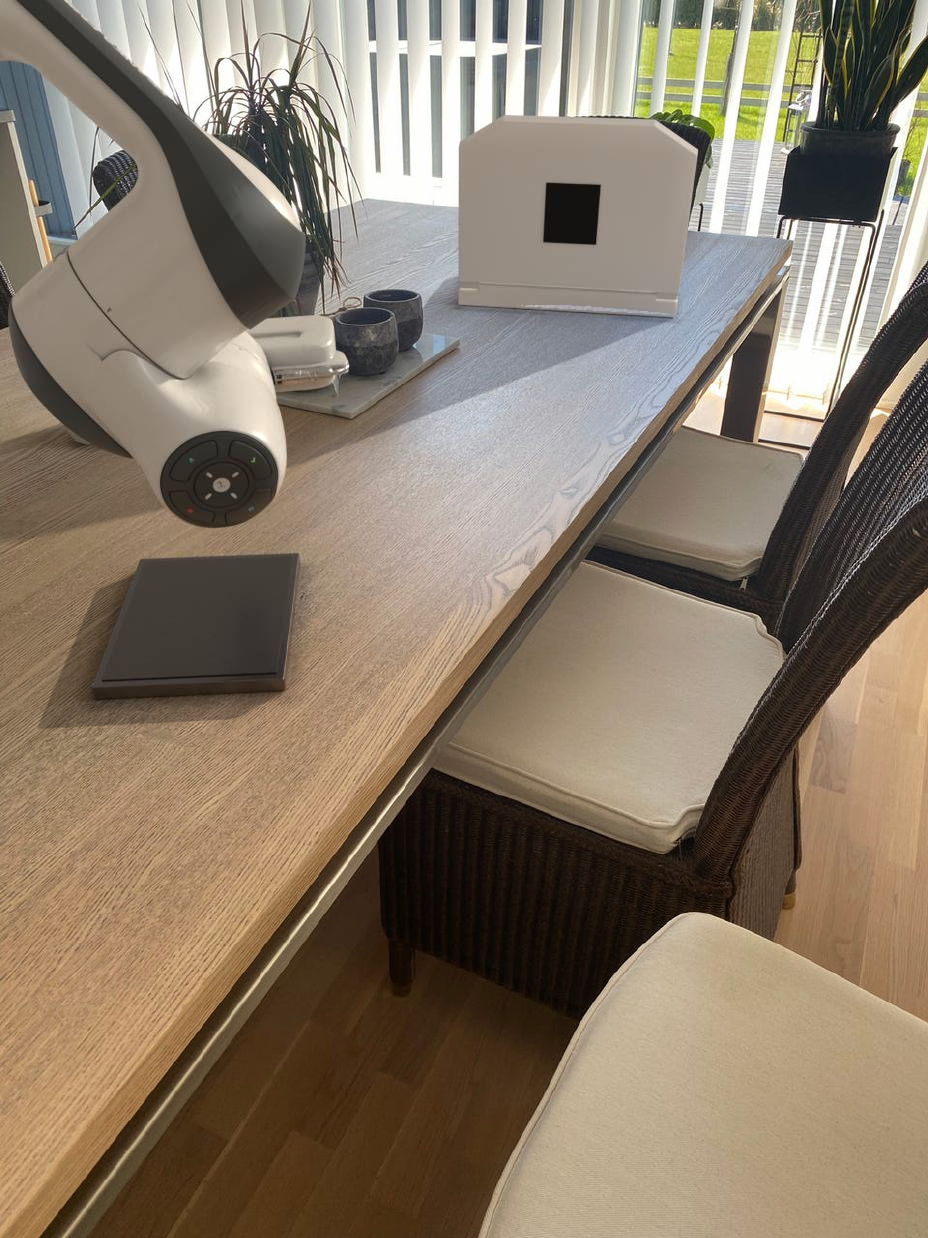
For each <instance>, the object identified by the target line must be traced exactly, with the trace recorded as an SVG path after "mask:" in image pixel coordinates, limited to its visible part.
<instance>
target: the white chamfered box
mask: <svg viewBox="0 0 928 1238" xmlns="http://www.w3.org/2000/svg"><path fill="white" fill-rule="evenodd" d="M698 155H699V149H698V148H696V147H695V146H694V145H692V144H691V143H690V142H689V141H686V140H685V139H684V138H682V137H680V136H679V135H678V134H676V133H675V132H673V131H672V130H671V129H669V128H668V127H666V126H665V125H663V124H662V123H661V122H660V121H658V120H657V119H654V118H653V119H651V118H650V119H648V118H619V117H618V118H616V117H587V116H586V117H584V116H552V115H551V116H549V115H520V114H517V115H516V114H504V115H502V116H500V117H498V118H497V119H495V120H493V121H491V122H490V123H489V124H486V125H485V126H483V127H482V128H480V129H479V130H477V131H475V132H473V133H471V134H470V135H468V136H466V137H465V138H463V139H462V140H460V141H459V145H458V282H459V288H458V305H459V306H468V307H469V306H471V307H487V308H504V309H506V308H507V309H522V310H539V311H554V312H556V311H557V312H570V313H589V314H590V313H591V314H607V315H623V316H637V317H638V316H640V317H656V318H657V317H658V318H676V316H677V311H678V294H680V290H681V284H682V283H681V282H682V275H683V268H684V259H685V252H686V244H687V237H688V229H689V222H690V216H691V207H692V200H693V192H694V187H695V186H694V184H695V177H696V170H697V162H698ZM517 305H518V306H517ZM521 305H523V306H521ZM526 305H573V306H591V307H603V308H615V309H628V310H638V311H648V312H660V313H669V314H676V315H661V314H644V313H627V312H610V311H593V310H576V309H559V308H542V307H525V306H526Z"/></svg>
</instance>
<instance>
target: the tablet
mask: <svg viewBox="0 0 928 1238" xmlns="http://www.w3.org/2000/svg"><path fill="white" fill-rule="evenodd" d="M300 557H301V556H300V553H299V552H289V553H288V552H287V553H264V554H262V553H261V554H260V553H259V554H236V555H235V554H234V555H210V556H207V555H206V556H181V557H179V556H177V557H154V558H153V557H152V558H140V559H139V562H138V564H137V566H136V570H135V572H134V574H133V577H132V580H131V582H130V585H129V587H128V590H127V593H126V595H125V598H124V601H123V604H122V606H121V609H120V611H119V614H118V617H117V619H116V622H115V625H114V627H113V630H112V632H111V634H110V638H109V641H108V643H107V646H106V649H105V650H104V654H103V657H102V659H101V661H100V664H99V667H98V669H97V672H96V675H95V677H94V680H93V683H92V685H91V691H92V693H93V694H92V695H93V697H94V699H95V700H111V699H133V698H135V699H137V698H154V697H155V698H156V697H157V698H158V697H177V696H178V697H179V696H197V695H219V694H222V695H223V694H239V693H240V694H241V693H263V692H284V691H287V690H286V689H287V681H288V674H289V673H288V672H289V664H290V656H291V646H292V639H293V629H294V623H295V621H294V620H295V612H296V603H297V595H298V586H299V578H300V570H301V558H300Z"/></svg>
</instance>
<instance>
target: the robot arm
mask: <svg viewBox="0 0 928 1238" xmlns="http://www.w3.org/2000/svg"><path fill="white" fill-rule="evenodd" d="M7 61H8V62H17V63H22V64H25V65H28V66H30V67H32V68H34V69H35V70H36V72H38V73H39V74H40V75H41V76H43V78H45V79H46V80H47V81H48V82H49V83H50V84H51V85H52V86H53V87H55V88H56V89H57V90H58V91H59V92H60V94H62V95H63V96H64V97H65V98H66V99H68V100H69V102H70V103H71V104H73V105H74V106H75V107H76V108H77V109H79V111H80V112H82V113H83V114H84V115H85V116H86V117H87V118H88V119H89V120H90V121H92V122H93V123H94V124H95V125H96V126H97V127H98V128H99V129H100V130H101V131H102V132H103V133H105V134H106V136H108V137H109V138H110V139H111V140H112V141H113V142H114V143H115V144H116V145H117V146H118V147H119V148H121V149H122V150H123V151H124V152H125V153H126V154H127V155H129V156H130V158H131V159H133V160H134V161H133V162H134V163H136V166H137V178H136V181H135V185H134V186H133V188H132V189H131V190H130V191H129V193H127V194H126V195H125V196H124V197H123V198H122V199H121V200H120V201H118V202H117V204H115V205H114V206H113V207H112V208H111V209H110V210H109V211H107V212H106V213H105V214H104V215H103V216H102V217H101V218H100V219H98V221H96V222H95V223H94V224H93V225H92V226H91V227H89V228H88V229H87V230H86V231H85V232H84V233H83V234H81V236H80V237H79V238H77V239H76V240H75V241H74V242H73V243H72V244H70V245H67V246H66V247H64V248H63V249H62V250H61V251H60V252H59V253H58V254H57V255H55V257H54V258H53V259H51V260H50V261H49V262H48V263H46V265H45V266H43V267H42V268H41V269H40V270H39V271H38V272H37V273H36V274H35V275H34V276H33V277H31V279H30V280H29V281H27V282H26V283H25V284H24V285H23V286H22V287H21V288H20V289H19V290H18V291H17V292H16V293H15V294H13V295H12V296H10V299H9V304H8V313H7V318H8V319H7V320H8V323H7V324H8V331H9V336H10V341H11V346H12V350H13V354H14V357H15V361H16V364H17V368H18V370H19V373H20V375H21V377H22V378H23V381H24V382H25V384H26V385H27V387H28V389H29V390H30V392H31V393H32V394H33V395H34V396H35V398H36V399H37V401H38V402H40V403H41V405H42V406H43V407H44V408H45V409H46V410H47V411H48V412H49V413H50V414H51V415H52V416H53V417H54V418H55V419H57V420H58V422H60V424H62V426H64V425H65V426H66V427H67V428H68V429H70V430H71V431H72V432H74V433H75V434H76V435H78V436H79V437H81V438H82V439H84V440H85V441H87V442H88V443H90V444H91V446H93V447H96V448H97V449H100V450H102V451H105V452H107V453H111V454H113V455H116V456H118V457H122V458H125V459H131V460H134V461H135V463H136V464H137V465H138V467H139V468H140V470H141V472H142V473H143V475H144V476H145V479H146V480H147V482H148V485H149V486H150V489H151V490H152V492H153V494H154V496H155V497H156V499H157V500H158V501H159V502H160V504H161V505H162V507H164V509H166V510H167V511H168V512H169V513H170V514H171V515H172V516H174V517H175V518H176V519H178V520H180V521H181V522H183V523H185V524H188V525H190V526H193V527H196V528H197V527H198V528H204V529H222V528H230V527H235V526H238V525H241V524H244V523H246V522H248V521H250V520H251V519H253V518H255V517H256V516H258V515H259V514H261V513H262V512H263V511H264V510H266V509H267V508H268V507H269V506H270V505H271V504H272V502H273V501H274V500H275V499H276V497H277V495H278V494H279V491H280V489H281V487H282V485H283V482H284V480H285V476H286V472H287V462H288V461H287V460H288V455H287V454H288V453H287V440H286V432H285V425H284V421H283V417H282V413H281V409H280V407H279V404H278V401H277V393H283V392H295V391H308V390H315V389H322V388H324V387H325V388H326V387H328V386H330V385H331V384H332V383H333V382H334V381H335V379H336V377H337V376H338V375H346V374H347V373H349V368H350V363H349V360H348V358H347V356H346V353H344V352H342V351H340V350H337V346H336V345H337V344H336V335H335V325H334V323H333V320H332V319H331V318H329V317H326V316H324V315H319V314H312V315H299V316H283V317H272V316H273V315H274V314H276V313H277V312H278V311H281V310H282V309H284V308H285V307H286V306H287V305H289V304H290V303H292V302H293V301H295V300H296V298H297V295H298V292H299V288H300V285H301V281H302V277H303V272H304V266H305V257H306V245H307V244H306V242H307V241H306V240H307V239H306V237H307V236H306V233H305V232H304V231H303V229H302V226H301V224H300V222H299V219H298V216H297V215H296V213H295V211H294V209H293V208H292V206H291V205H290V203H289V202H288V200H287V198H286V197H285V196H284V194H283V193H282V191H280V189H279V188H277V186H276V185H275V183H273V182H272V181H271V179H269V178H268V177H267V176H266V175H265V174H264V173H263V172H262V171H261V170H259V168H257V167H256V166H255V165H254V164H253V163H251V162H250V161H249V160H247V158H244V156H242V155H240V153H238V152H237V151H235V150H233V149H232V148H231V147H229V146H228V145H226V144H225V143H223V142H222V141H220V140H219V139H218V138H216V137H215V136H214V135H212V134H211V133H209V132H208V131H206V130H205V129H203V128H202V127H201V126H200V125H199V124H198V123H196V121H195V120H193V119H192V117H190V116H189V115H188V113H186V112H185V111H184V110H183V109H182V108H181V107H179V105H178V104H176V102H174V101H173V100H172V99H171V98H170V96H169V95H168V94H167V93H166V92H165V91H163V89H161V88H160V87H159V85H157V84H156V83H155V82H154V80H152V78H150V77H149V76H148V75H147V74H146V73H144V72H143V71H142V69H141V68H140V67H139V66H137V65H136V64H135V63H134V62H133V61H132V60H131V59H130V57H127V55H126V54H125V53H124V52H122V51H121V49H120V48H119V47H118V46H117V45H115V44H114V43H113V42H112V41H111V40H110V39H109V38H108V37H107V36H106V35H104V34H103V33H102V32H101V31H100V30H99V28H98V27H97V26H95V25H94V24H93V23H92V22H91V21H90V20H89V19H88V18H86V17H85V15H84V14H82V13H81V11H80V10H79V9H77V8H76V7H75V6H74V5H73V4H72V3H71V2H70V1H69V0H0V62H7Z"/></svg>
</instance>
